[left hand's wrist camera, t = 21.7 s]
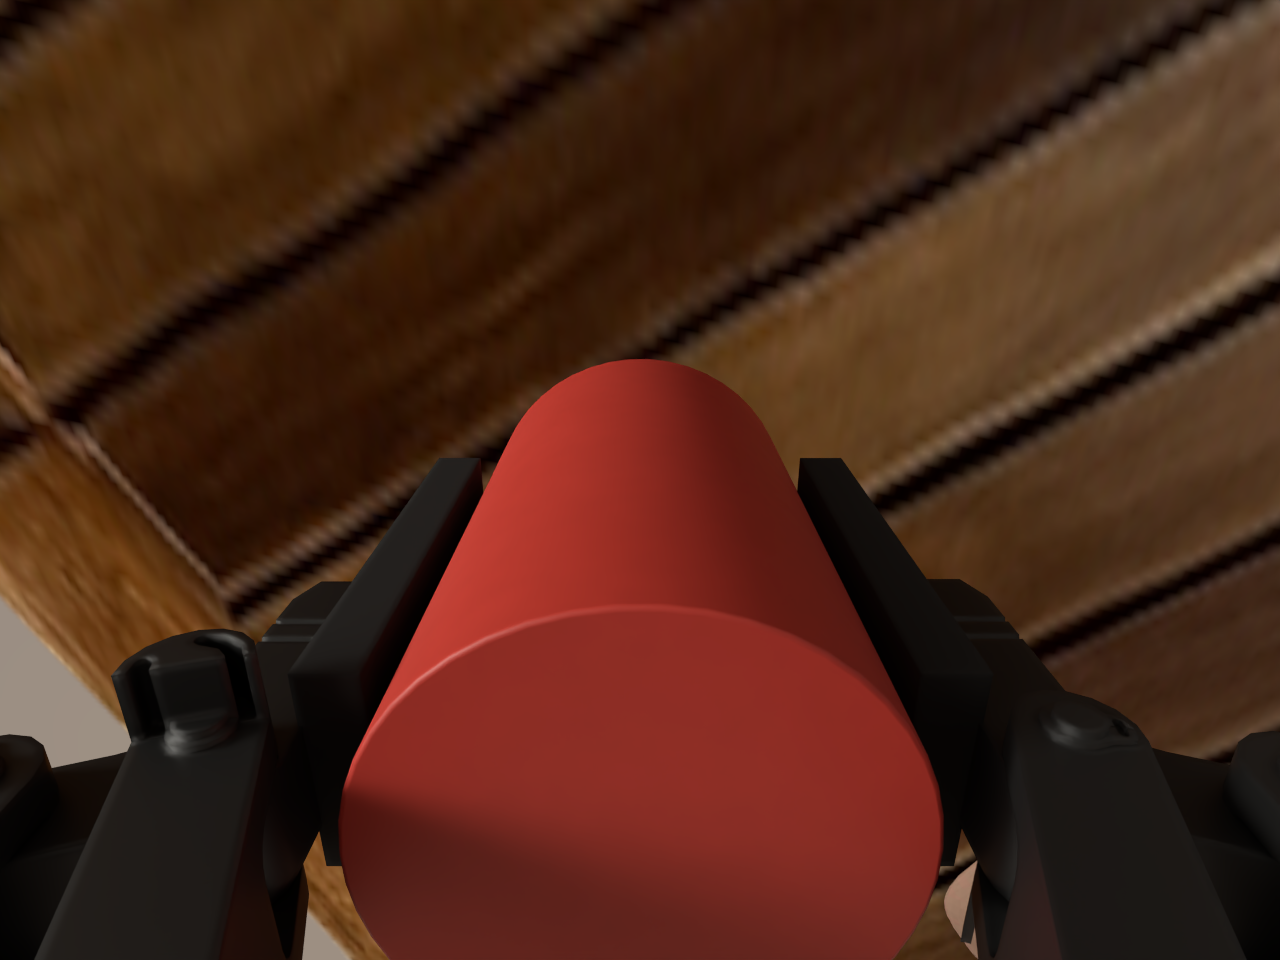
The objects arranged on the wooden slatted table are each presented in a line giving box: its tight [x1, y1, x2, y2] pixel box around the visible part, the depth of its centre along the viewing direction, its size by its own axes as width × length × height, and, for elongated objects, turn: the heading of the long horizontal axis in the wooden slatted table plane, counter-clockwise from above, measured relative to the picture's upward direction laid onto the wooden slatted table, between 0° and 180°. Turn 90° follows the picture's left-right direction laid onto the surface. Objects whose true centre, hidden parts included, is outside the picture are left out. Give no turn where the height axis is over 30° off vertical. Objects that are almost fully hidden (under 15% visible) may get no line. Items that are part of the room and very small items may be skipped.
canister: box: [338, 359, 944, 960], centre depth 12 cm, size 6×6×9 cm
